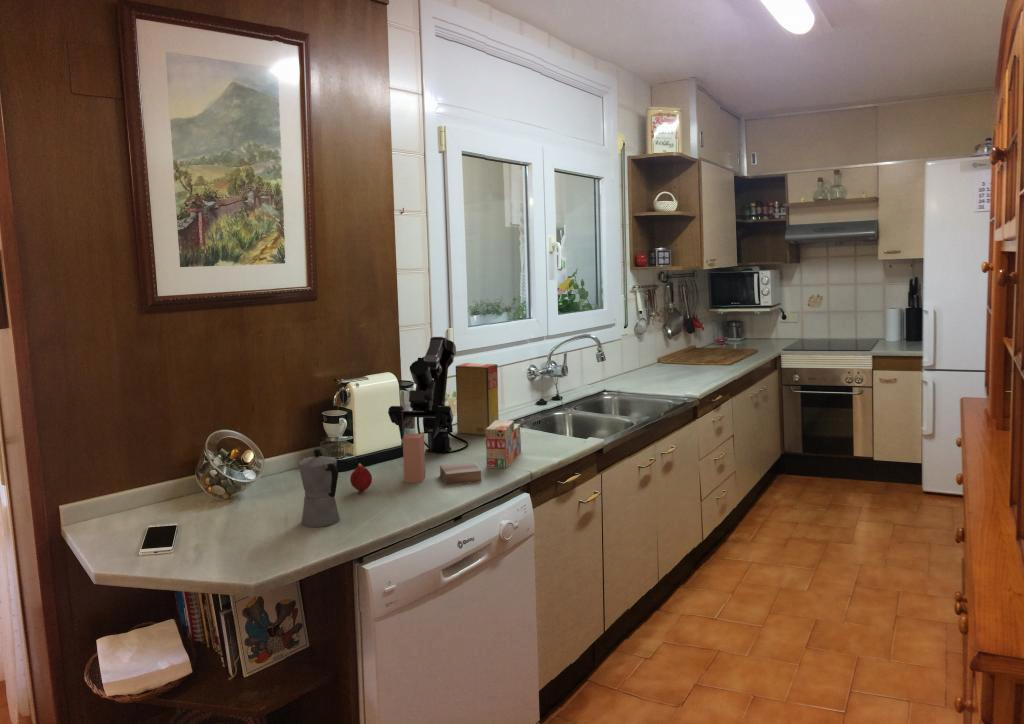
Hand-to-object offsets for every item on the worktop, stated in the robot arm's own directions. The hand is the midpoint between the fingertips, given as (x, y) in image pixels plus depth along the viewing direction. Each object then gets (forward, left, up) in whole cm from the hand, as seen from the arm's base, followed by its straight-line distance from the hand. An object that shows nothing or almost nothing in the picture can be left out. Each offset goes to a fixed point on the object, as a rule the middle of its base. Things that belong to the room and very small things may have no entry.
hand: (417, 438), depth 220 cm
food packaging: (-15, +56, -11) cm, 59 cm away
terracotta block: (+2, -4, -11) cm, 12 cm away
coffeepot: (+4, -43, -11) cm, 45 cm away
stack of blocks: (+13, +27, -11) cm, 32 cm away
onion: (-4, -20, -11) cm, 23 cm away
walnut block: (+13, +3, -11) cm, 17 cm away
